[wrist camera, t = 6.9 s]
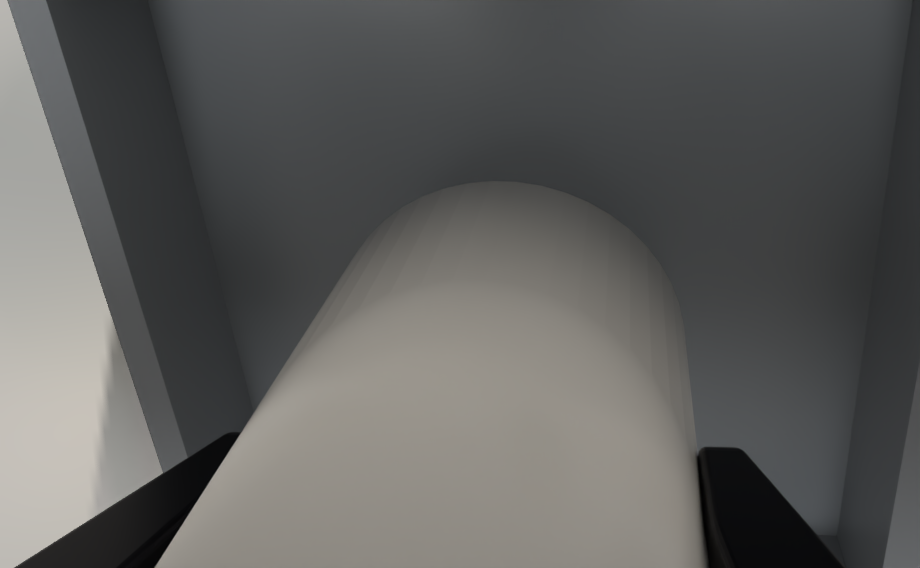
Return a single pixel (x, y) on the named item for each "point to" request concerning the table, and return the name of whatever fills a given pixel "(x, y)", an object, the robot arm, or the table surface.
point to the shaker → (472, 405)
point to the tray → (527, 161)
